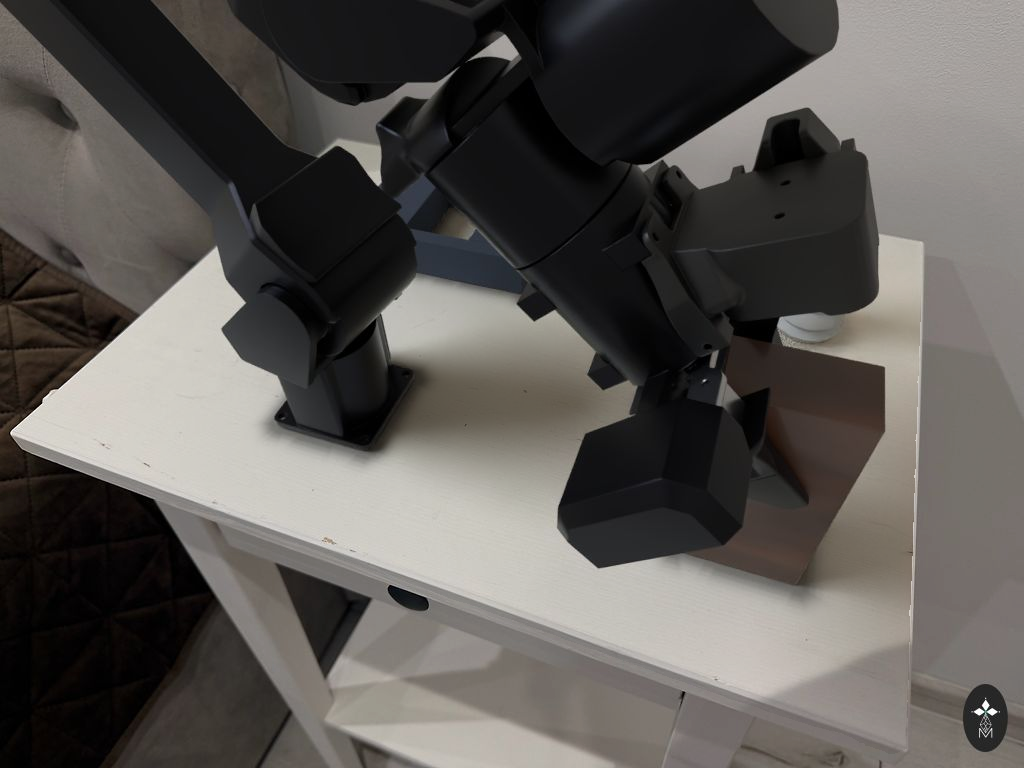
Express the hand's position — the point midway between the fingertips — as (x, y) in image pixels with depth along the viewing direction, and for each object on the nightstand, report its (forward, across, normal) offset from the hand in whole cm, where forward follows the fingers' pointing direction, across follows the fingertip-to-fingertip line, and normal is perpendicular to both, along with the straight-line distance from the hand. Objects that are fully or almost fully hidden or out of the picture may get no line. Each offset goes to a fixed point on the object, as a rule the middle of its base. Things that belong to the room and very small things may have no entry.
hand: (802, 470), depth 31 cm
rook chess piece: (+5, +18, +4) cm, 19 cm away
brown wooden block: (+4, 0, +6) cm, 7 cm away
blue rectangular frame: (-13, +20, +23) cm, 33 cm away
